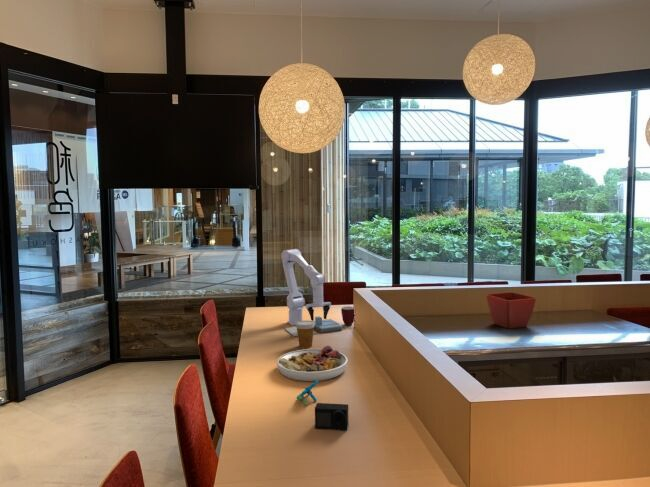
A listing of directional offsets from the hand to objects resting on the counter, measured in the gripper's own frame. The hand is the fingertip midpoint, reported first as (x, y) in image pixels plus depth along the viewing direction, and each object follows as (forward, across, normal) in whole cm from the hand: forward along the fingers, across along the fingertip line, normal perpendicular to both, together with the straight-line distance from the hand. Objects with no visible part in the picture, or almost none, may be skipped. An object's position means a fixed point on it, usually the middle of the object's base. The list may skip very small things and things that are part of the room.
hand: (318, 319), depth 269 cm
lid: (+4, +5, 0) cm, 6 cm away
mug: (+6, +20, 0) cm, 20 cm away
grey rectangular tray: (+6, +5, 0) cm, 7 cm away
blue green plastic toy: (+6, -39, -87) cm, 96 cm away
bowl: (+6, -26, -59) cm, 65 cm away
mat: (+6, -11, 0) cm, 12 cm away
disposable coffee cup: (+6, -17, -26) cm, 32 cm away
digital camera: (+6, -39, -110) cm, 117 cm away
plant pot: (+6, +101, -40) cm, 108 cm away
